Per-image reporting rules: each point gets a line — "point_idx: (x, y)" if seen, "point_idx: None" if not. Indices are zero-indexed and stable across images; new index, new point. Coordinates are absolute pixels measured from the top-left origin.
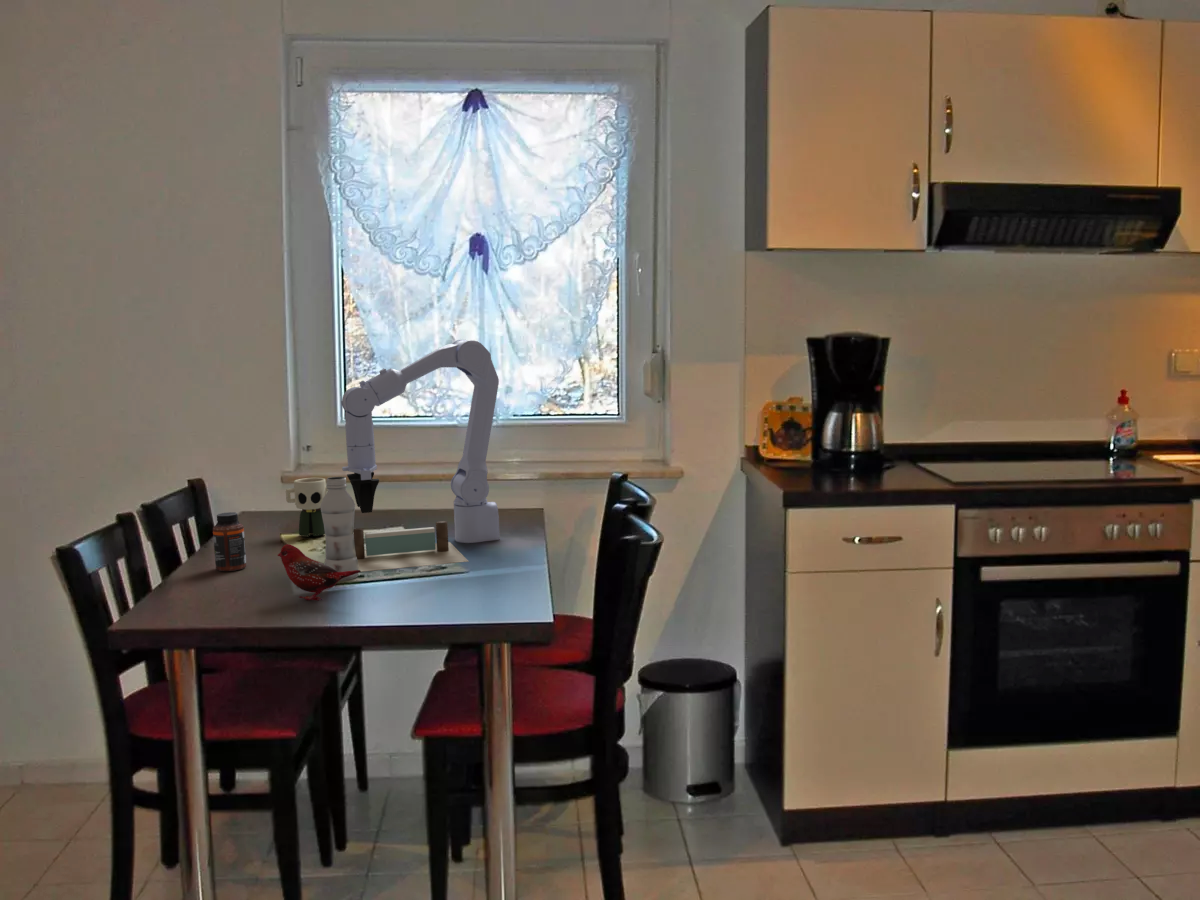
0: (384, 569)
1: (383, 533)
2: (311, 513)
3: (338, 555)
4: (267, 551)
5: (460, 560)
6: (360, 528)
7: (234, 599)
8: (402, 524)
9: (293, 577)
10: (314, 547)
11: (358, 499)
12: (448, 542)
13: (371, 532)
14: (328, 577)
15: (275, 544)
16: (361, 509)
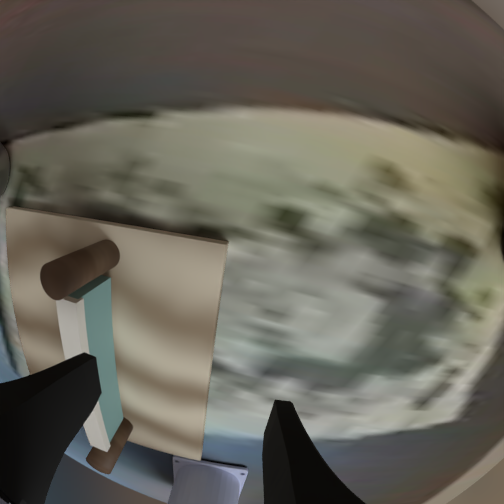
0: (8, 266)
1: (63, 346)
2: None
3: None
4: (431, 69)
5: None
6: (63, 294)
7: (25, 9)
8: (465, 419)
9: None
10: (420, 193)
11: (29, 375)
12: (196, 458)
13: (75, 323)
14: None
15: (493, 124)
16: (71, 359)
